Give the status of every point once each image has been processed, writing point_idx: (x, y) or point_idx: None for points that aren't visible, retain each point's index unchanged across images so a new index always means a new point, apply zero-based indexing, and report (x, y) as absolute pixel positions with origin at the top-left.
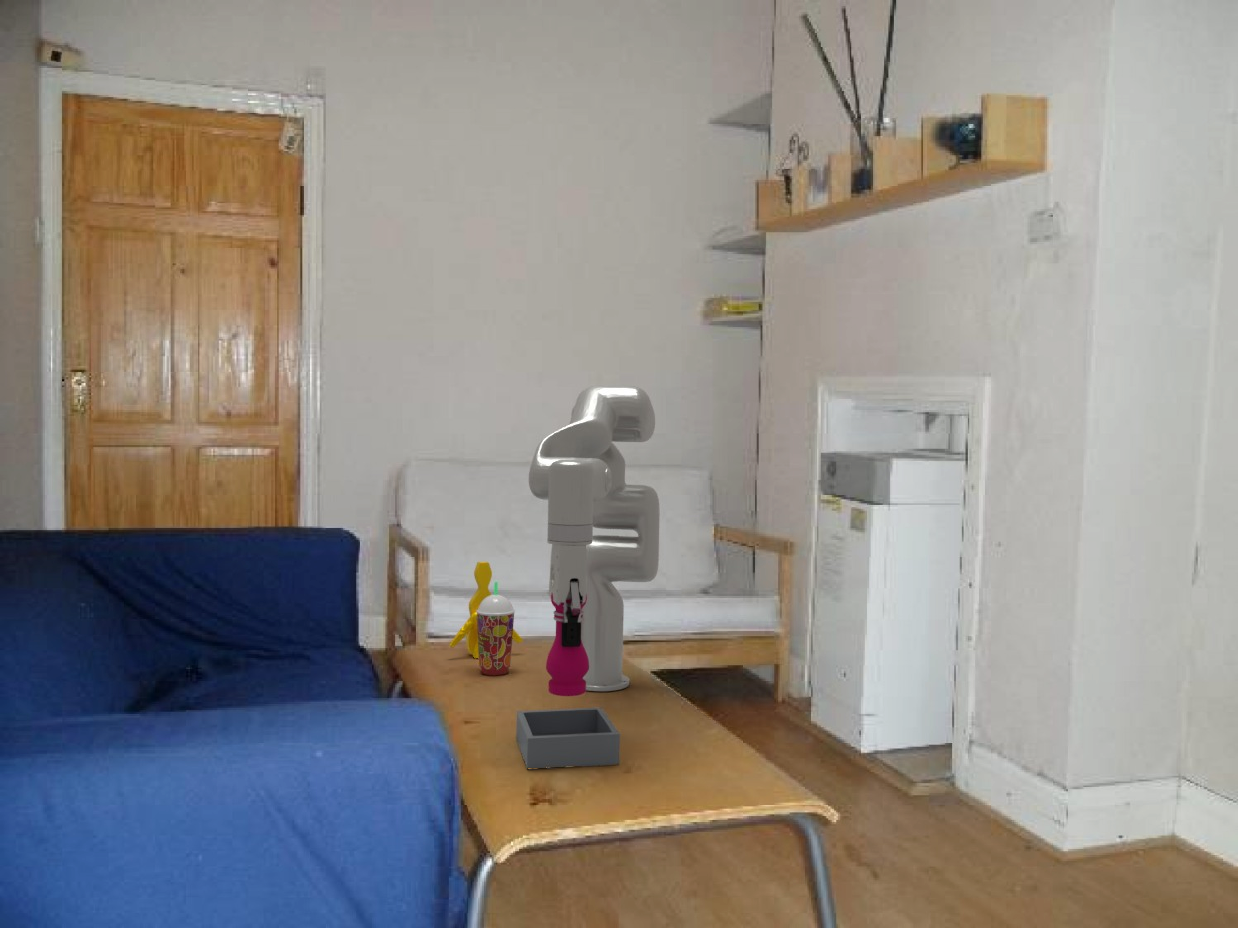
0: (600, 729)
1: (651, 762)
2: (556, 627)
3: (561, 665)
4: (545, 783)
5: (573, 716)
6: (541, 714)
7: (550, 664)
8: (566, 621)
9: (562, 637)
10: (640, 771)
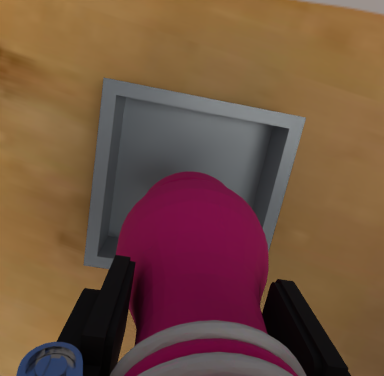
0: None
1: (94, 286)
2: (296, 312)
3: (128, 218)
4: (40, 91)
5: None
6: (276, 168)
7: (170, 189)
8: (28, 365)
9: (105, 278)
10: (59, 257)
